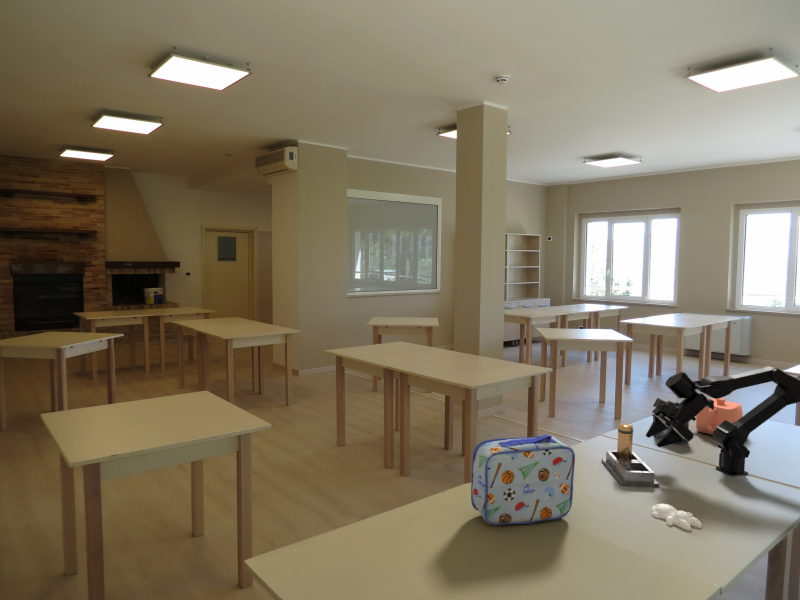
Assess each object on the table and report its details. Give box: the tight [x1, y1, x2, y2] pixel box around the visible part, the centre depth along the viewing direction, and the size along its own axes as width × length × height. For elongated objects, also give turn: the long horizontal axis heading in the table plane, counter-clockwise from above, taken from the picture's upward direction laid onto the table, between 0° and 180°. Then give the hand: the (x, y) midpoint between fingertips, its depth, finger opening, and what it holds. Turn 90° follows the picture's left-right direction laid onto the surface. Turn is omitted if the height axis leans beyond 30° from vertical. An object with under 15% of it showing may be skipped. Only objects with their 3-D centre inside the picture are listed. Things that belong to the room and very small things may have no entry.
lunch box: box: [470, 434, 576, 525], centre depth 136 cm, size 28×10×22 cm, turn 105°
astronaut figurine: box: [650, 503, 703, 532], centre depth 136 cm, size 9×12×3 cm
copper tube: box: [616, 423, 634, 460], centre depth 169 cm, size 5×5×13 cm
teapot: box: [695, 397, 744, 436], centre depth 206 cm, size 20×19×14 cm
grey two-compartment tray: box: [601, 450, 660, 488], centre depth 165 cm, size 19×11×4 cm, turn 176°
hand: (652, 441), depth 168 cm, fingers open, 9 cm apart
